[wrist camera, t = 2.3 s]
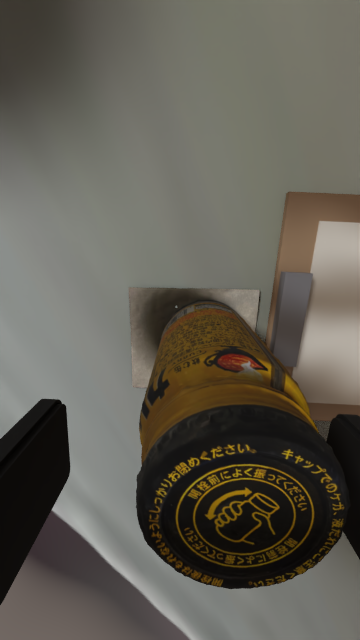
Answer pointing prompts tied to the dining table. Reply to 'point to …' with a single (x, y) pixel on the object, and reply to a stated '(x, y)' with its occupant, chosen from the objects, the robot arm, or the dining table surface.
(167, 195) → the dining table surface
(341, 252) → the clipboard
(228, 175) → the dining table surface
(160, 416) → the condiment
